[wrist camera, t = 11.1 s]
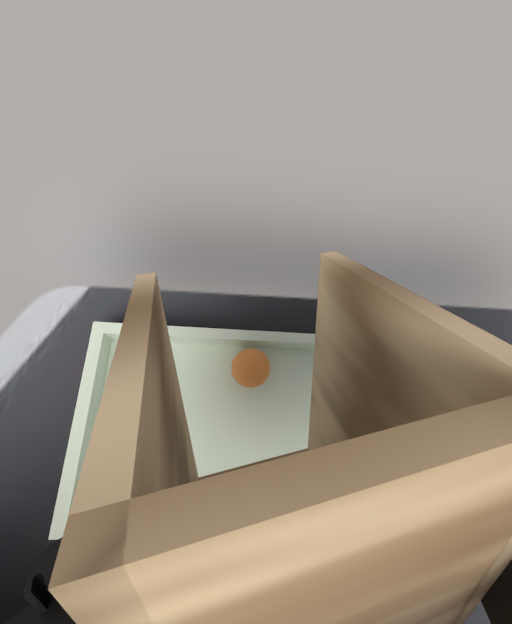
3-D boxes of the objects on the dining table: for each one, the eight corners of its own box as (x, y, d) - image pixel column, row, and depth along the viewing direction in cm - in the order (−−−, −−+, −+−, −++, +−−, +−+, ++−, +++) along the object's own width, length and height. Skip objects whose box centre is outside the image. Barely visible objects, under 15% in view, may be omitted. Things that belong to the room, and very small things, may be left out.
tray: (336, 344, 27) (351, 336, 24) (351, 508, 23) (373, 521, 20) (105, 333, 24) (93, 321, 21) (69, 522, 19) (48, 539, 17)
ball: (263, 368, 25) (283, 376, 22) (236, 390, 24) (253, 400, 21) (248, 338, 24) (267, 343, 22) (218, 359, 23) (235, 366, 20)
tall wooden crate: (423, 676, 10) (626, 406, 4) (208, 782, 8) (48, 588, 2) (316, 460, 16) (335, 250, 11) (190, 496, 15) (136, 274, 9)
